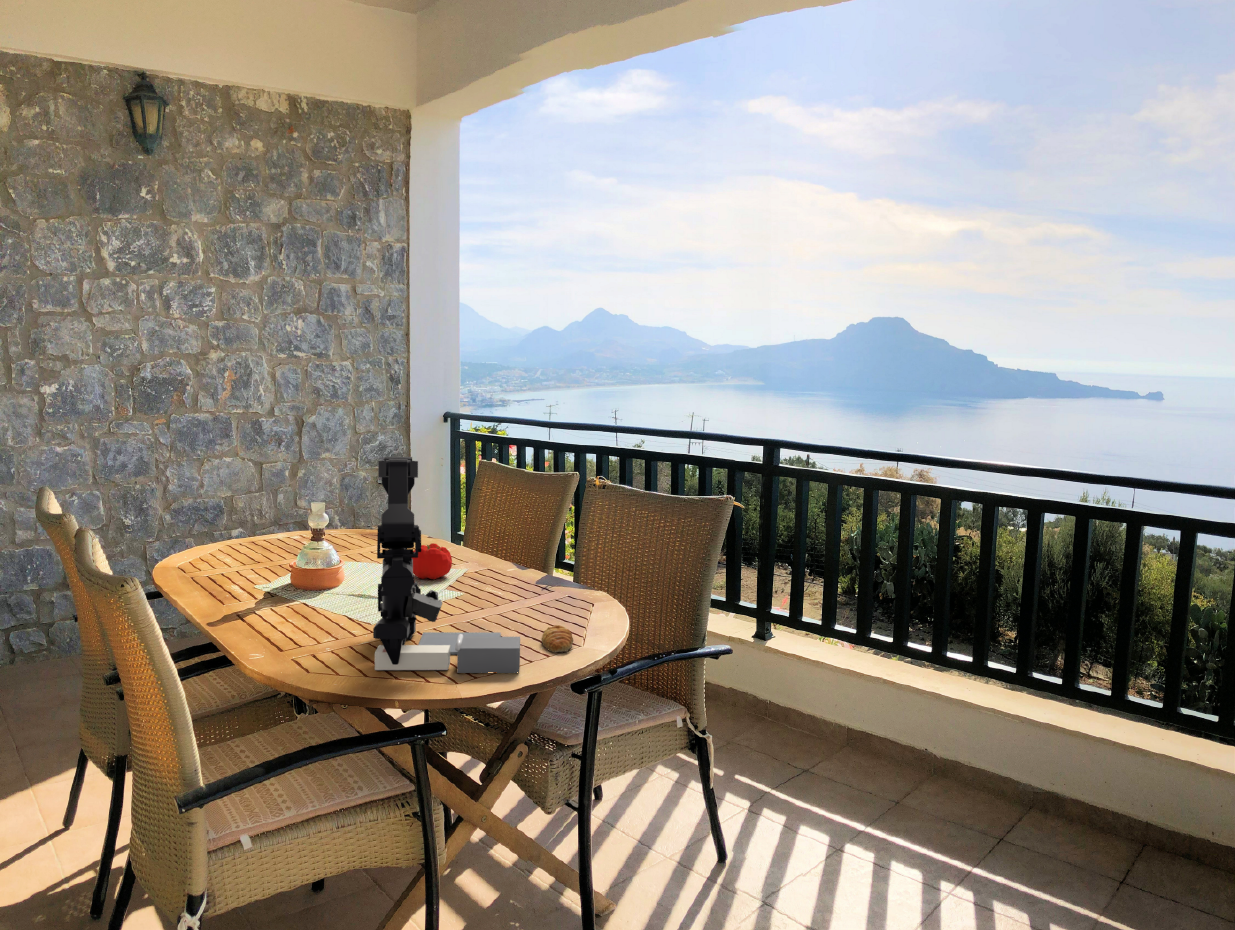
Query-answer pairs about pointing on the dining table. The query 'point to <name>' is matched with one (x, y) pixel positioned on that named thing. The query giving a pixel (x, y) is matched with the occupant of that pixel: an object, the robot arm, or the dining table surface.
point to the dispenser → (488, 654)
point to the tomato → (432, 562)
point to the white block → (415, 658)
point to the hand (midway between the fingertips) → (397, 660)
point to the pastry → (557, 638)
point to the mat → (451, 638)
